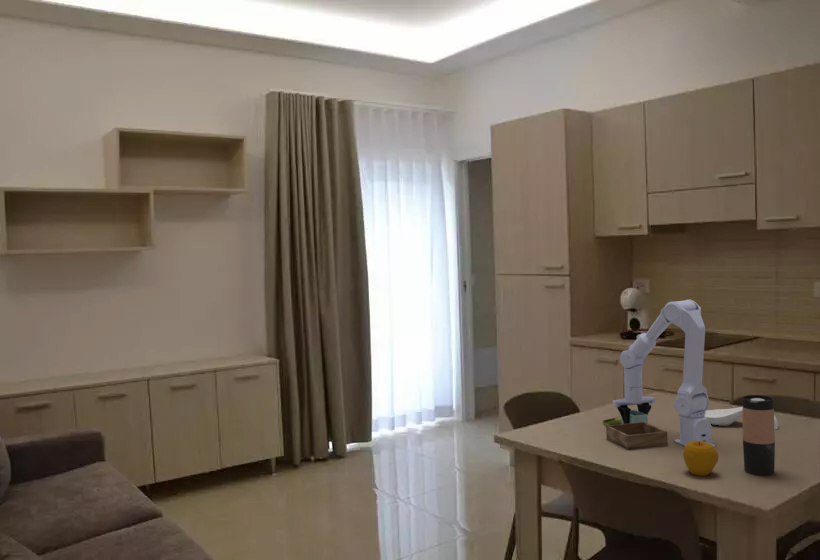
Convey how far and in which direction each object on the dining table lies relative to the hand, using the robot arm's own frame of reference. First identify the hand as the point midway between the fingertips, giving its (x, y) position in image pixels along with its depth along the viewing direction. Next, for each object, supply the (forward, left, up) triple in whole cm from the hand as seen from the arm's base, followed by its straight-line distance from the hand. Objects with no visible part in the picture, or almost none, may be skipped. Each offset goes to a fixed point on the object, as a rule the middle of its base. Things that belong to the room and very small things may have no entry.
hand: (634, 426), depth 233 cm
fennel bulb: (+7, -6, +2) cm, 9 cm away
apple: (-45, +7, -2) cm, 46 cm away
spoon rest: (-6, -34, -2) cm, 35 cm away
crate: (-13, +7, -1) cm, 15 cm away
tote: (0, 0, -1) cm, 1 cm away
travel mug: (-49, -8, -2) cm, 50 cm away
